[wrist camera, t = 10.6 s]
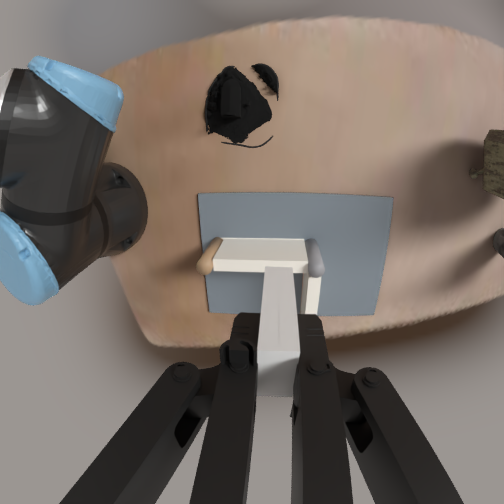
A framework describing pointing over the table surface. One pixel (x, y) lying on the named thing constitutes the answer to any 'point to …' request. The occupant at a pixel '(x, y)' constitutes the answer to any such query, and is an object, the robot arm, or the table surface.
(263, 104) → the black jagged rounded shell
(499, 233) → the beverage cup
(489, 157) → the tabletop clock
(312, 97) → the table surface
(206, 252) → the fixed fence section
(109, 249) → the robot arm
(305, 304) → the cream upright panel
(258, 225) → the card
